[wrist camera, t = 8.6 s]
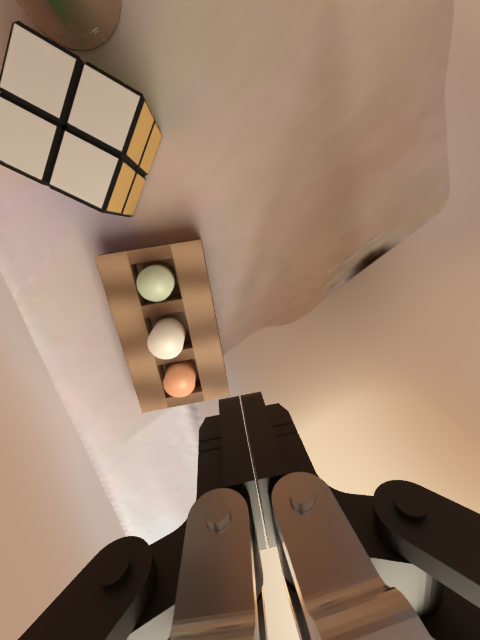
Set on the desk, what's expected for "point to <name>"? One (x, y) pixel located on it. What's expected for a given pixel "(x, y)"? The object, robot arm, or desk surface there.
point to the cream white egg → (167, 338)
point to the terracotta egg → (180, 378)
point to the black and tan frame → (73, 125)
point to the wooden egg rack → (183, 303)
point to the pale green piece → (156, 282)
